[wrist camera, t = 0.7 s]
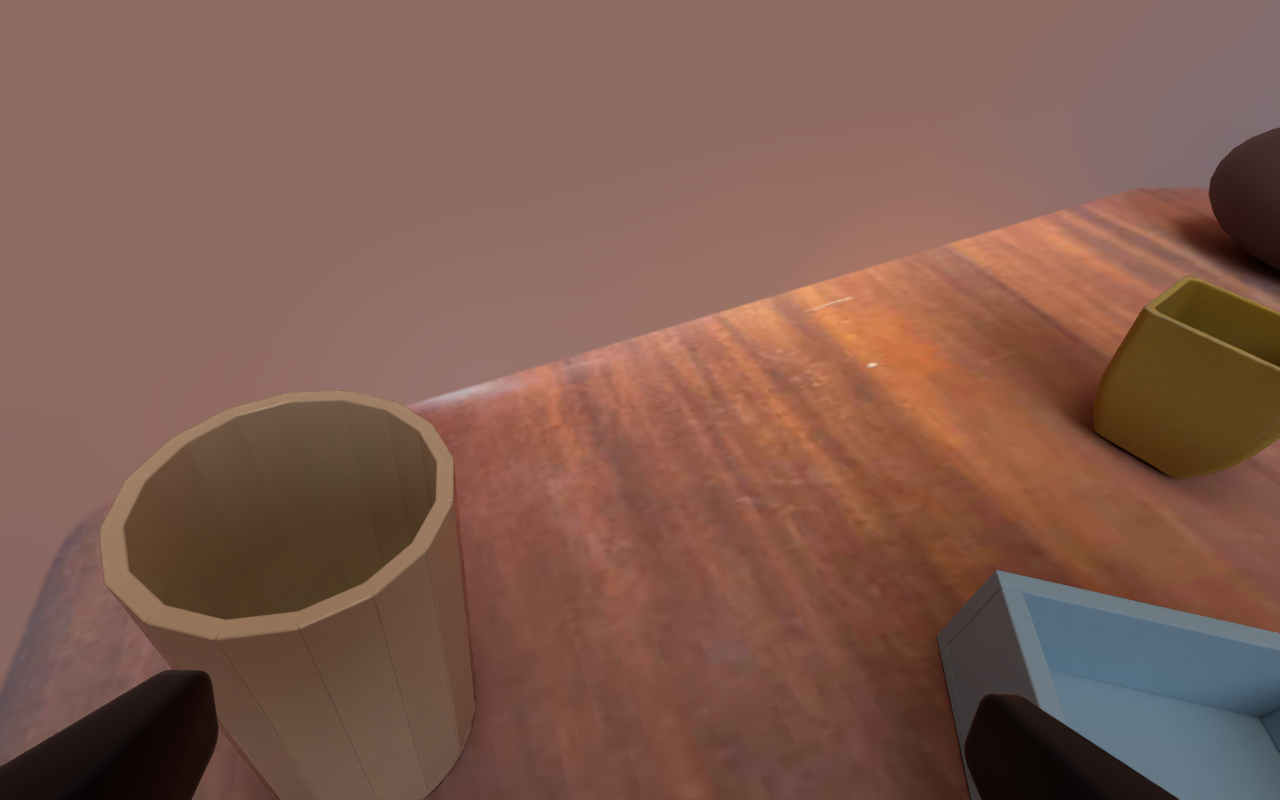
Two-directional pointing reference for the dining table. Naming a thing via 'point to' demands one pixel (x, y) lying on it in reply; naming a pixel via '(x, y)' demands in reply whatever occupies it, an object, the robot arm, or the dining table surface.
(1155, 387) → the flower pot
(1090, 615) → the tub
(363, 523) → the tumbler
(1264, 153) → the smooth stone
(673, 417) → the dining table surface
